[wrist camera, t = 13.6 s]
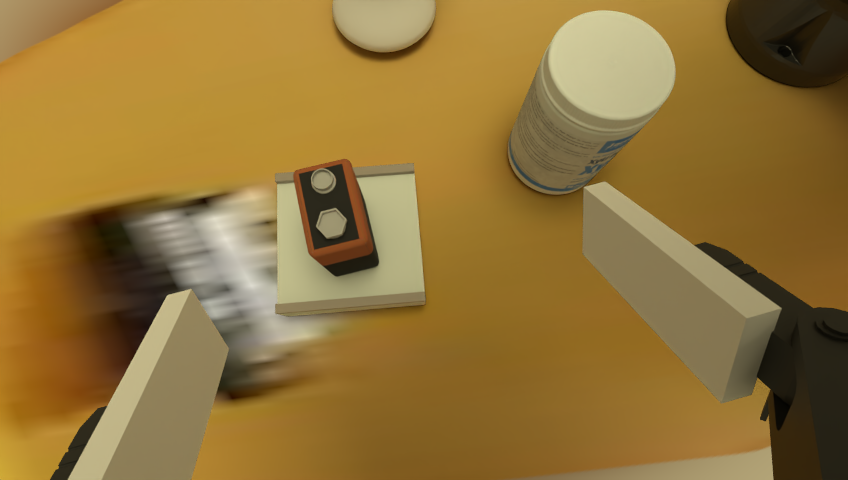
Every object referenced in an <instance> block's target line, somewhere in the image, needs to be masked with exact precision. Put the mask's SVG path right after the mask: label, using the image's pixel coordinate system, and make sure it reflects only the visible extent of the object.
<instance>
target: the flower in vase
mask: <svg viewBox="0 0 848 480" xmlns="http://www.w3.org/2000/svg"><path fill="white" fill-rule="evenodd" d="M332 12H333V18H334V21H335V24H336V26H337V28H338V29H339V31H340V32H341V33H342V34H343V36H344V37H346V38H347V39H348V40H349V41H350V42H352V43H353V44H355V45H357V46H359V47H361V48H364V49H366V50H370V51H374V52H394V51H398V50H402V49H404V48H407V47H409V46H411V45H412V44H414V43H416V42H417V41H418V40H419V39H421V38H422V37H423V36H424V35H425V34H426V33H427V32H428V30H429V29H430V27H431V25H432V23H433V21H434V18H435V13H436V2H435V0H333V5H332Z"/></svg>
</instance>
